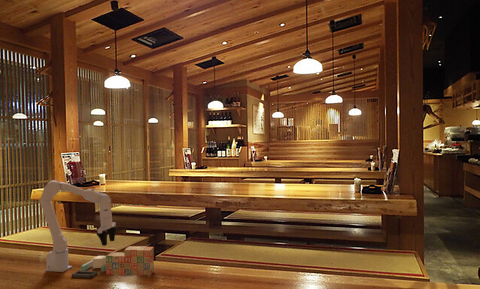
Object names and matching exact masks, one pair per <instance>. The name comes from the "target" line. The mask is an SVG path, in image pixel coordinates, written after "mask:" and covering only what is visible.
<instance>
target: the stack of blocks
mask: <svg viewBox="0 0 480 289" xmlns="http://www.w3.org/2000/svg"><path fill="white" fill-rule="evenodd" d="M154 248H155V247H154V246H144V245H142V246H138V245H137V246H134V245H133V246H128V247H126V248H125V249H124V252H120V251H119V252H117V251H116V252H109V253H108V254H107V255H105V256H106V271H105V274H106V276H121V277H122V276H123V277H124V276H125V277H126V276H129V277H131V276H132V277H133V276H134V277H136V276H135V275H137V277H140V276H139V275H147V276H146V277H150V276H151V275H152V274H154V272H155V269H154V268H155V265H154V263H155V262H154V260H155V255H154V254H155V253H154V250H155V249H154Z"/></svg>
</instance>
